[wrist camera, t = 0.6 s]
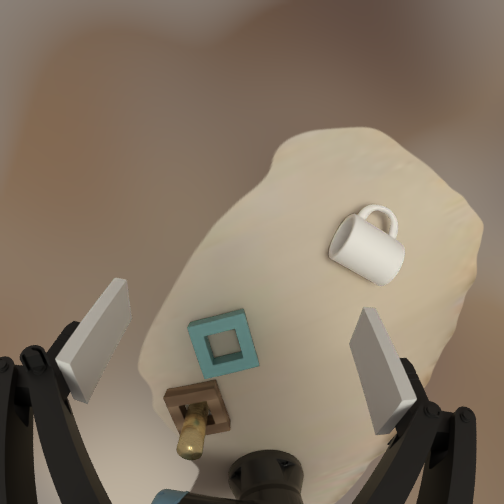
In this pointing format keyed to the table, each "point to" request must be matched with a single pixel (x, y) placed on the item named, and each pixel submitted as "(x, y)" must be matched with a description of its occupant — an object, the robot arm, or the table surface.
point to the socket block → (228, 362)
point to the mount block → (195, 394)
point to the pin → (193, 431)
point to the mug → (368, 246)
